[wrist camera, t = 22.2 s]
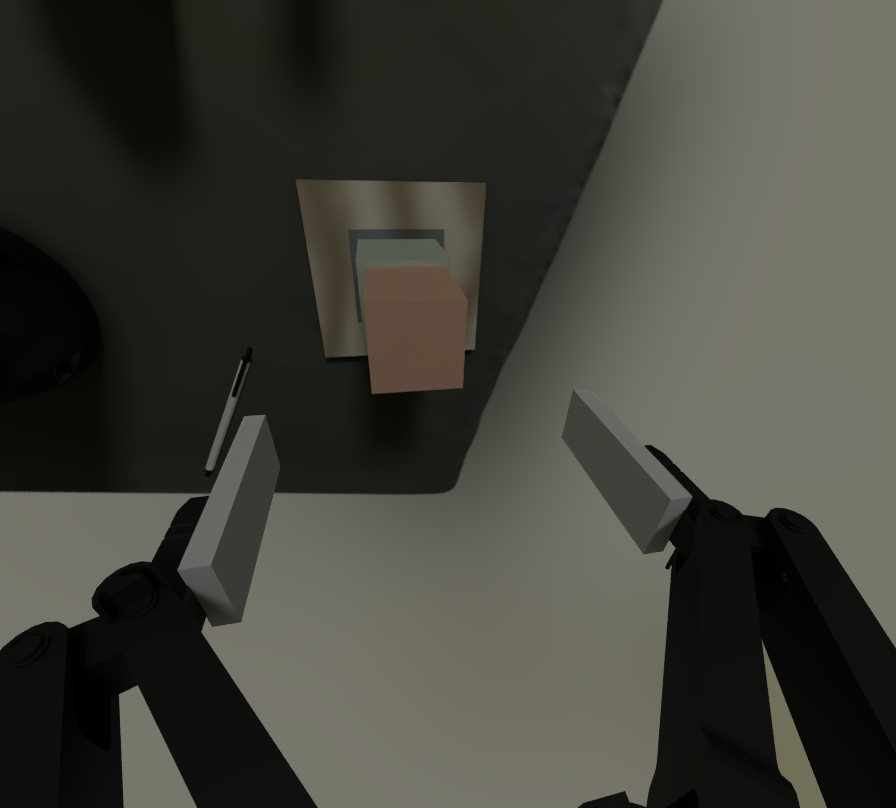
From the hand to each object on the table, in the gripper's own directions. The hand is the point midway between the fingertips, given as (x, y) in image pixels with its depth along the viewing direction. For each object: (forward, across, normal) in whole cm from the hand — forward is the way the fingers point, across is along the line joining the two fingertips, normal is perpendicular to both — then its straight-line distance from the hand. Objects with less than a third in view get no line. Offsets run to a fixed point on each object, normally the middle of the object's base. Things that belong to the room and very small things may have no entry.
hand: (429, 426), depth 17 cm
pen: (+26, -19, -16) cm, 36 cm away
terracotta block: (+16, +1, 0) cm, 16 cm away
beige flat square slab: (+25, +1, 0) cm, 25 cm away
